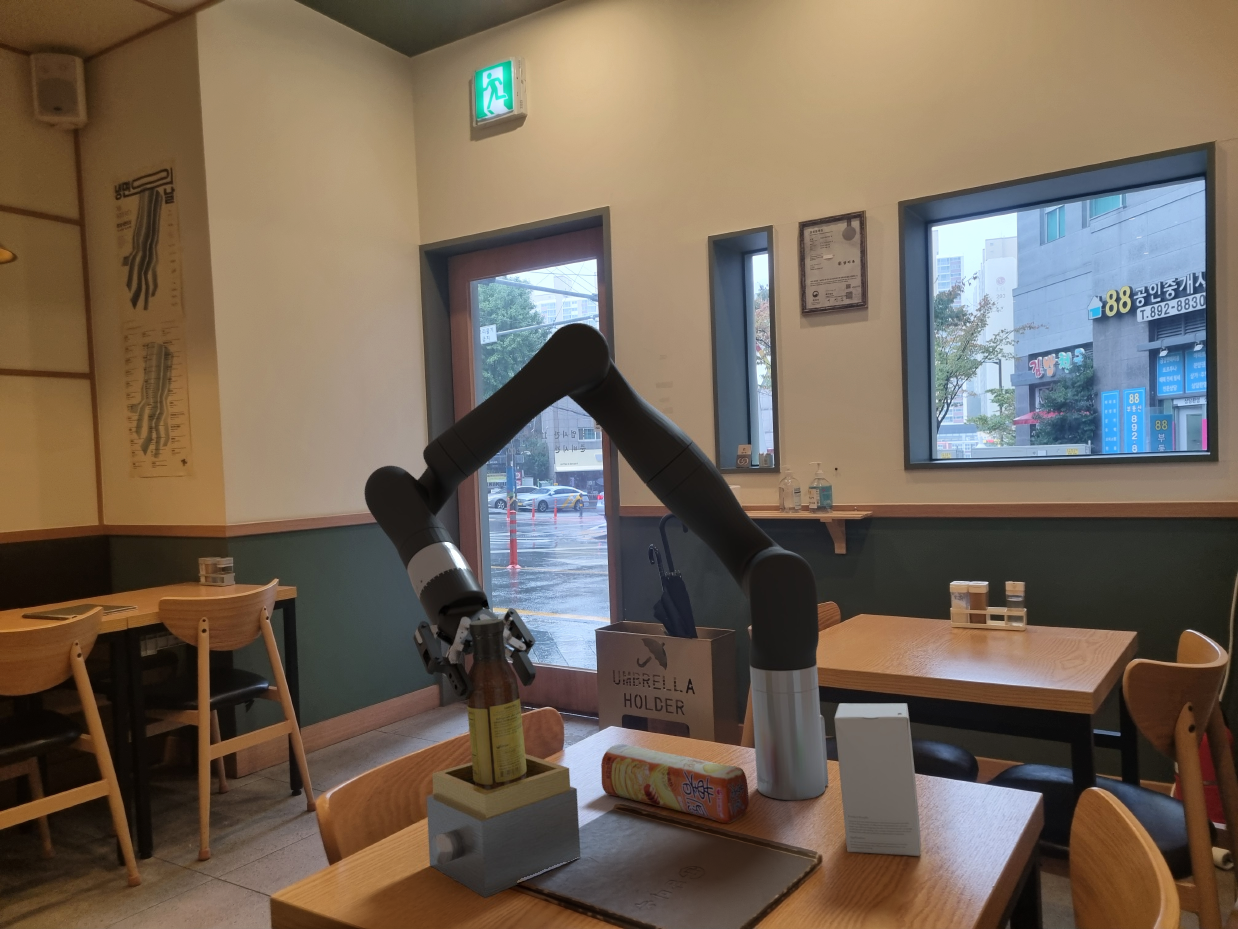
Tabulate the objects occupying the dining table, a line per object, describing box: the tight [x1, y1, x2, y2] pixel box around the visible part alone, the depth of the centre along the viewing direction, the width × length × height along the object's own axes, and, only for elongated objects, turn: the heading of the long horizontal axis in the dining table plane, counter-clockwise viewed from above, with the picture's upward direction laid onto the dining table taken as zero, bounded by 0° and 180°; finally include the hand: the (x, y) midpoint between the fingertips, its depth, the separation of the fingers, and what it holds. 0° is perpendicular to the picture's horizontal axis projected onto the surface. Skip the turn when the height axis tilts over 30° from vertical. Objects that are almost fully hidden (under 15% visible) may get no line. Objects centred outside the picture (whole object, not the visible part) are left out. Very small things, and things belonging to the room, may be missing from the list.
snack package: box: [600, 743, 750, 824], centre depth 114 cm, size 21×7×7 cm, turn 50°
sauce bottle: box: [466, 619, 527, 791], centre depth 99 cm, size 6×6×20 cm
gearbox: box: [426, 753, 581, 898], centre depth 98 cm, size 15×12×10 cm
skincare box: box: [833, 702, 922, 857], centre depth 97 cm, size 8×7×16 cm
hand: (500, 688), depth 98 cm, fingers open, 8 cm apart
